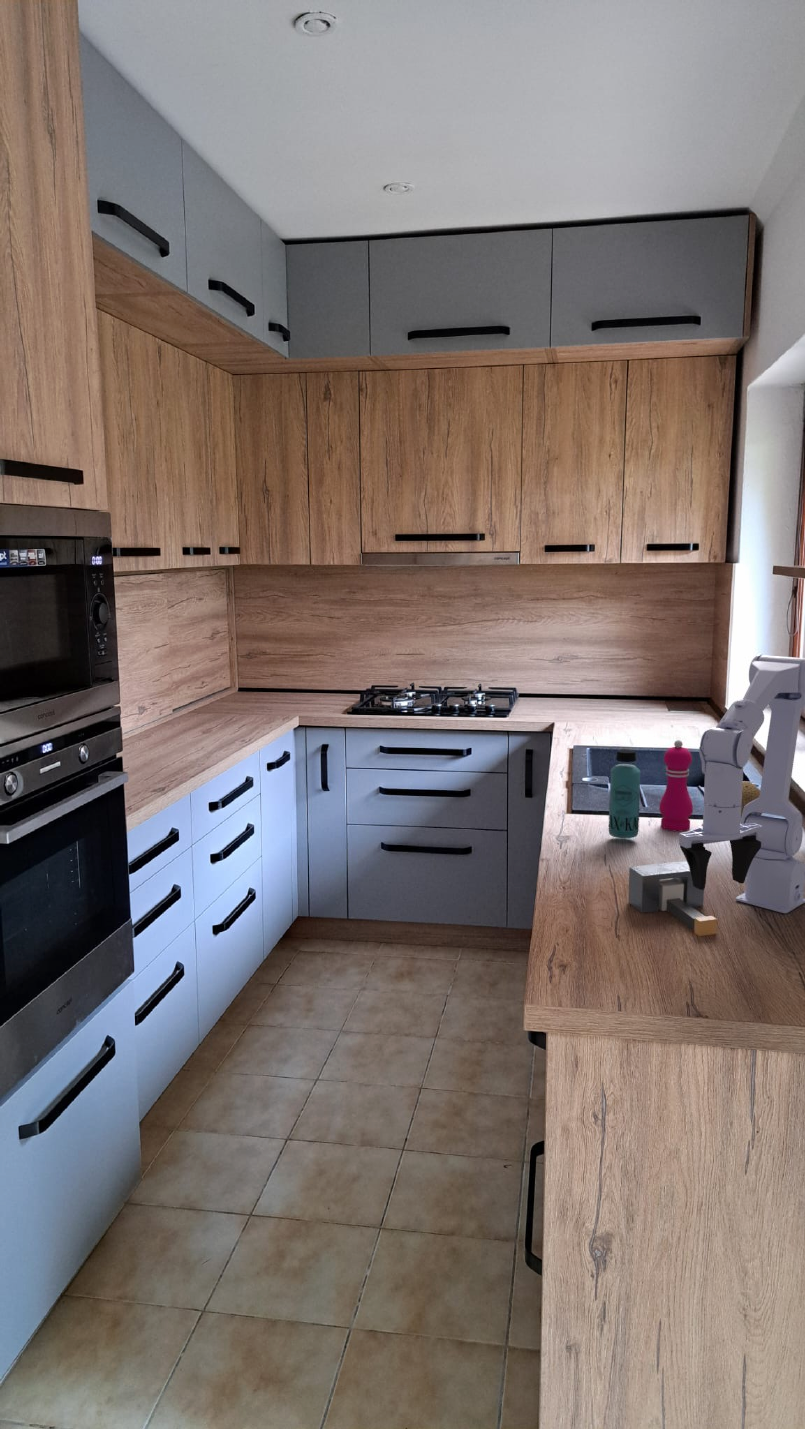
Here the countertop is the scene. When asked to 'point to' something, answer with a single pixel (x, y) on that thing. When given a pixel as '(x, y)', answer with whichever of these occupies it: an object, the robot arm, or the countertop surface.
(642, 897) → the housing
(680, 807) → the pepper mill
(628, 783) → the beverage bottle
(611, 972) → the countertop surface
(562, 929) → the countertop surface
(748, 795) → the natural sponge
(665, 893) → the plug
